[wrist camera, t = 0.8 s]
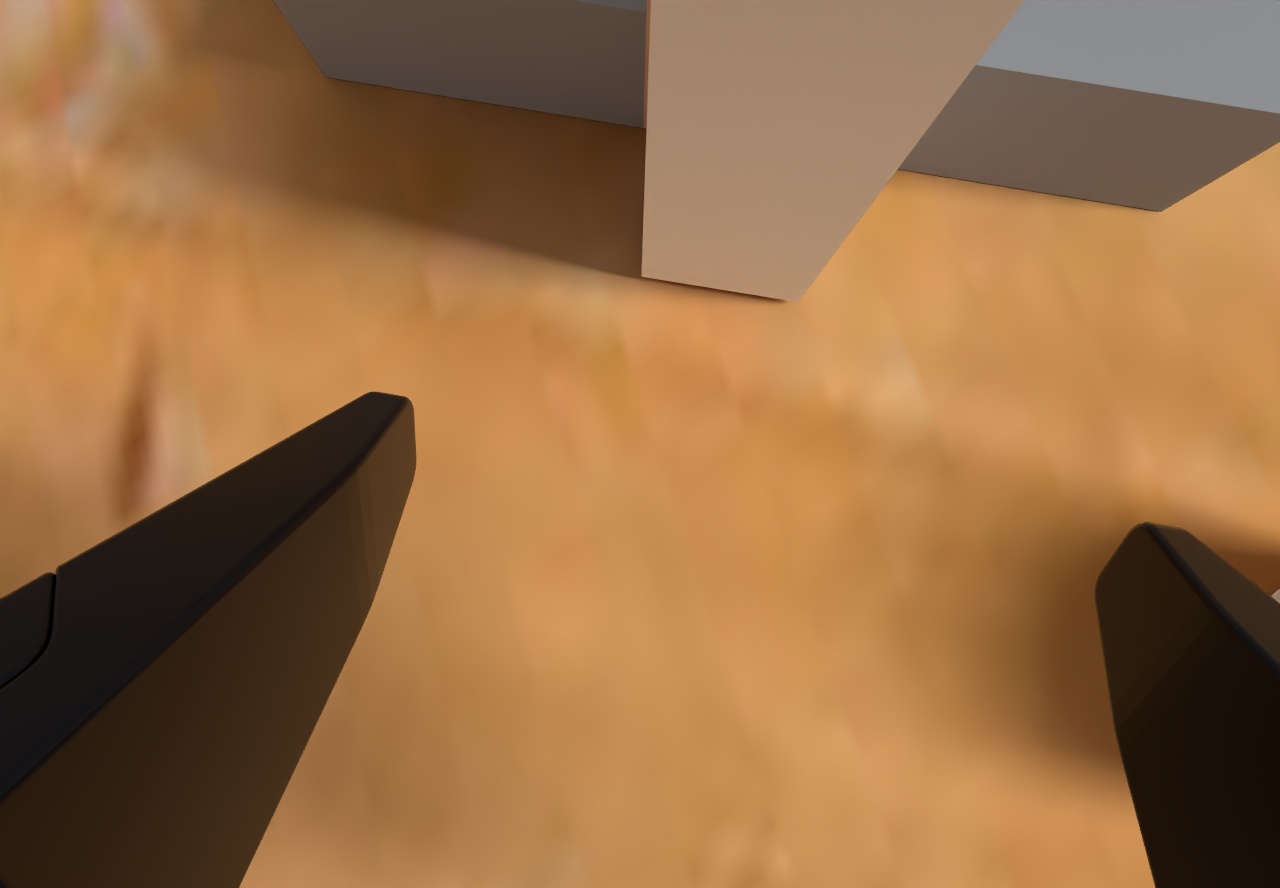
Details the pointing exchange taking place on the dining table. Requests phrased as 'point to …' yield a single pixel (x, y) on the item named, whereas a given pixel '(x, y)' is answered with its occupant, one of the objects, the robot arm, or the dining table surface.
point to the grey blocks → (956, 140)
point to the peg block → (788, 126)
